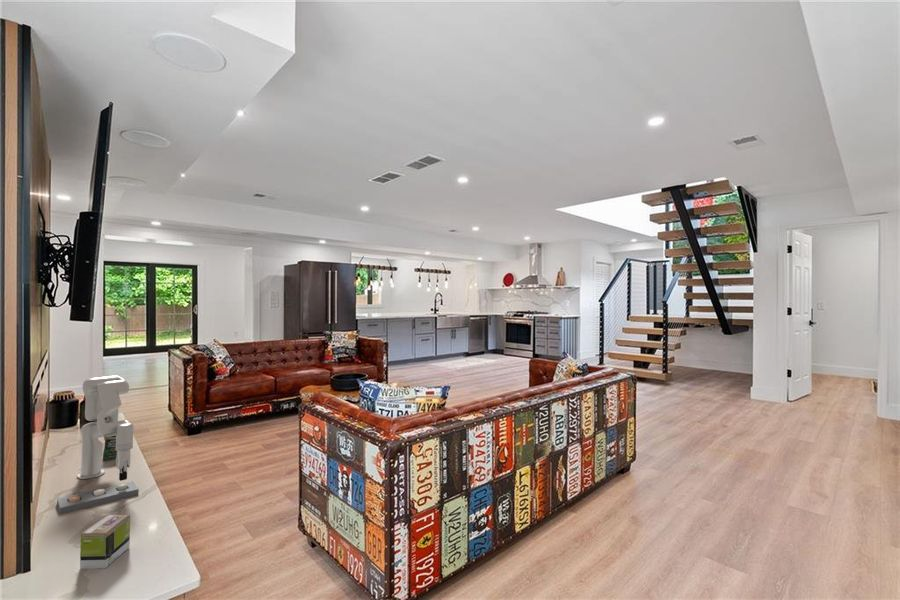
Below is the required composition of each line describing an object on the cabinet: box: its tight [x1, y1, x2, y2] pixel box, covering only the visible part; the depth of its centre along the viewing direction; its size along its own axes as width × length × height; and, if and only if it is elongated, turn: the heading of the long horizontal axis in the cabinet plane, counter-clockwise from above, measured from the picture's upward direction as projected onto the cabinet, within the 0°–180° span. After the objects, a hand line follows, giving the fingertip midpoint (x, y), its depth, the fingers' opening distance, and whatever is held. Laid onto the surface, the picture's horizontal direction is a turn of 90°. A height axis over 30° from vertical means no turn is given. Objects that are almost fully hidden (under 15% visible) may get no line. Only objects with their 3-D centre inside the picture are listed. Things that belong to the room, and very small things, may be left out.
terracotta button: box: [69, 496, 80, 502], centre depth 220 cm, size 4×4×3 cm
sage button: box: [117, 483, 127, 491], centre depth 235 cm, size 4×4×3 cm
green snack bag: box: [102, 435, 117, 461], centre depth 284 cm, size 10×8×19 cm
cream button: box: [94, 488, 105, 496], centre depth 228 cm, size 4×4×3 cm
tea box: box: [79, 514, 131, 570], centre depth 178 cm, size 15×10×15 cm
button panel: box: [56, 480, 139, 515], centre depth 228 cm, size 14×32×3 cm, turn 137°
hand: (122, 479), depth 235 cm, fingers closed
